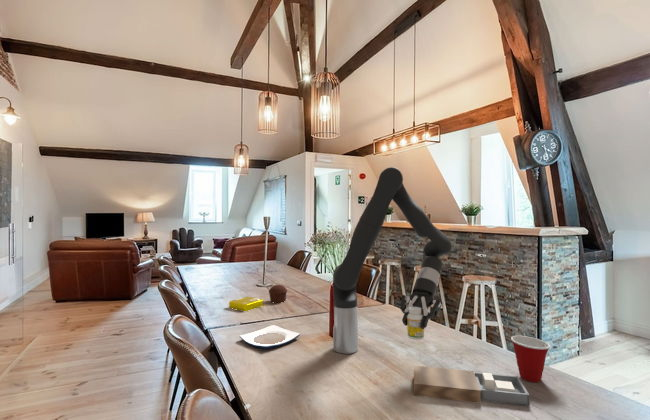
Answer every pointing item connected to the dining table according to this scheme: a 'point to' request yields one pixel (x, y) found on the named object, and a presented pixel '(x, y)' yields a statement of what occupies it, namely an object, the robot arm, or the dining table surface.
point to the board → (446, 384)
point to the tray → (503, 396)
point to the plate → (271, 329)
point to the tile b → (504, 386)
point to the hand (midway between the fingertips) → (413, 325)
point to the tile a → (488, 381)
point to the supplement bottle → (415, 323)
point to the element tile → (246, 303)
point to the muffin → (277, 293)
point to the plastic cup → (530, 357)
